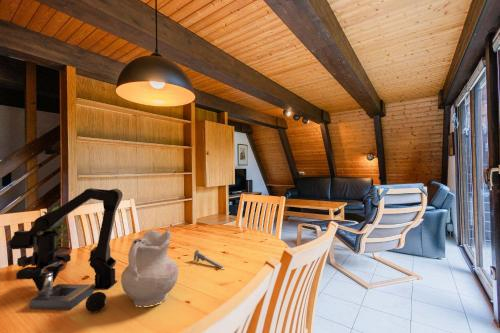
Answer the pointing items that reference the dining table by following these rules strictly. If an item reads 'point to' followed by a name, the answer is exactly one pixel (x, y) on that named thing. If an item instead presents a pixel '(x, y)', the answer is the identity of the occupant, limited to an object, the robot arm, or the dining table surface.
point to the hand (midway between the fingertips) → (45, 287)
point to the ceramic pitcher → (149, 269)
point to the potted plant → (63, 248)
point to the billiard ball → (96, 302)
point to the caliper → (205, 259)
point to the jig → (62, 297)
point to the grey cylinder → (47, 282)
